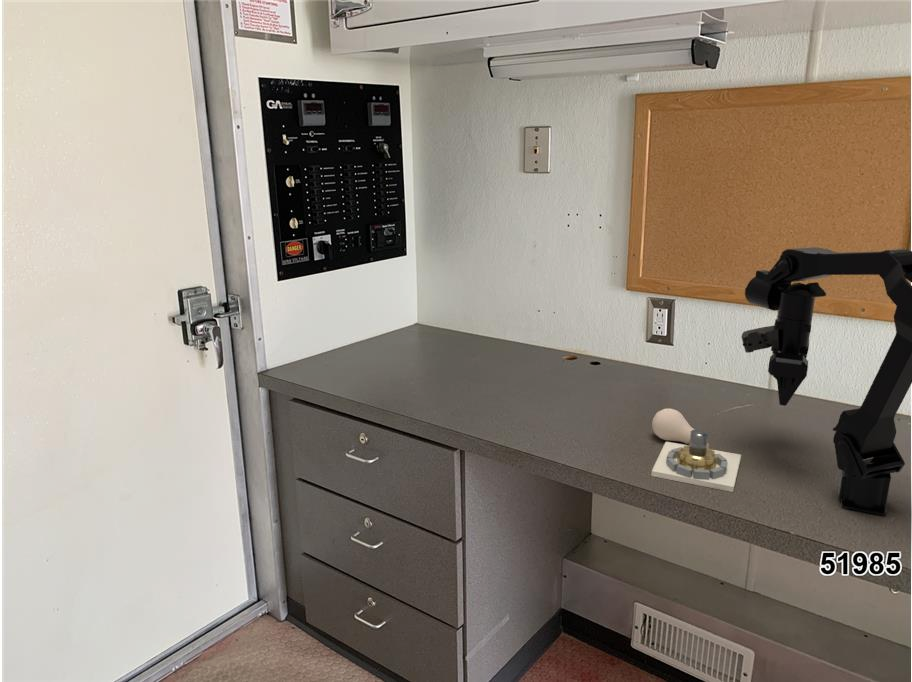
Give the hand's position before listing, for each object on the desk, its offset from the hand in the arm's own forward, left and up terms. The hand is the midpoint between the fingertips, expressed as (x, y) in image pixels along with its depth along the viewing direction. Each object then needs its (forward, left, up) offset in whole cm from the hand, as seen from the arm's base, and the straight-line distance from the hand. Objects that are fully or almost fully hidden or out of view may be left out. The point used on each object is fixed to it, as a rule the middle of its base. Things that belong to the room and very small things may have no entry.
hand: (783, 396), depth 134 cm
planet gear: (+13, +14, -11) cm, 22 cm away
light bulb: (+18, +2, -12) cm, 22 cm away
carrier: (+13, +12, -12) cm, 21 cm away
